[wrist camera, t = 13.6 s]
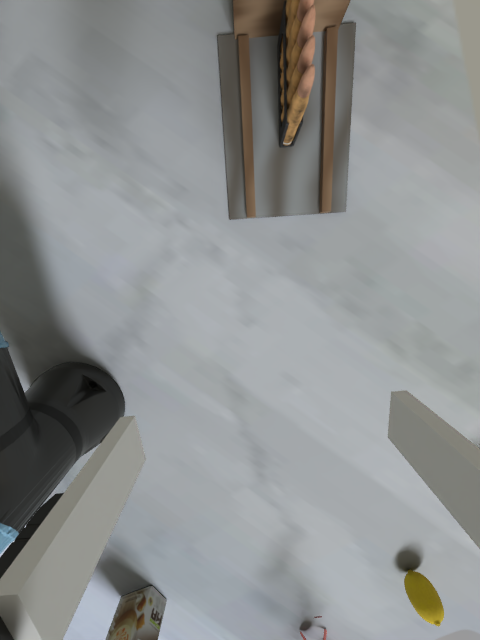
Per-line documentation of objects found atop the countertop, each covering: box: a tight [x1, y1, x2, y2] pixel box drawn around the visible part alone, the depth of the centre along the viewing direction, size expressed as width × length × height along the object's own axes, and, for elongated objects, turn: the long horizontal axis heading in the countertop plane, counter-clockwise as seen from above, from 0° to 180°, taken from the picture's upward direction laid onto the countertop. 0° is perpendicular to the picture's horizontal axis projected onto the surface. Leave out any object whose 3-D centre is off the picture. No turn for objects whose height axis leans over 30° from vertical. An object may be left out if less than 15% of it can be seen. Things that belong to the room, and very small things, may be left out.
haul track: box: [218, 0, 356, 220], centre depth 27 cm, size 16×24×6 cm
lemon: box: [404, 569, 444, 626], centre depth 47 cm, size 6×6×8 cm
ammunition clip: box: [277, 0, 316, 148], centre depth 23 cm, size 11×2×12 cm, turn 4°
